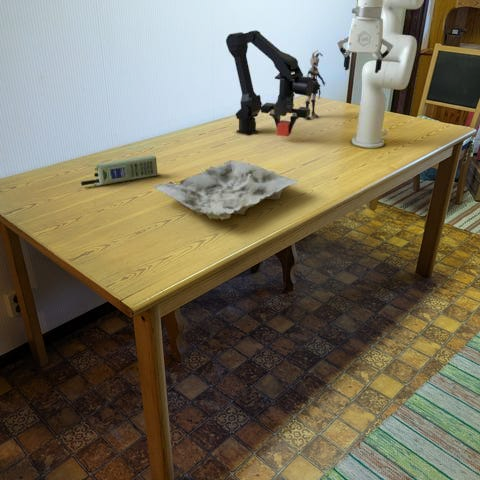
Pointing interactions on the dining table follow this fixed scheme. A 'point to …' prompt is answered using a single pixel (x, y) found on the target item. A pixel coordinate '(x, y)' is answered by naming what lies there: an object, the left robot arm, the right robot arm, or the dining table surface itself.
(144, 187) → the dining table surface
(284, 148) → the dining table surface
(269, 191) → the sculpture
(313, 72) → the figurine
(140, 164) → the handheld radio
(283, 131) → the block
